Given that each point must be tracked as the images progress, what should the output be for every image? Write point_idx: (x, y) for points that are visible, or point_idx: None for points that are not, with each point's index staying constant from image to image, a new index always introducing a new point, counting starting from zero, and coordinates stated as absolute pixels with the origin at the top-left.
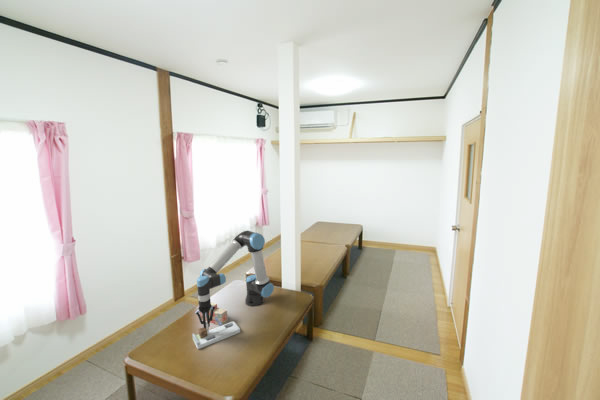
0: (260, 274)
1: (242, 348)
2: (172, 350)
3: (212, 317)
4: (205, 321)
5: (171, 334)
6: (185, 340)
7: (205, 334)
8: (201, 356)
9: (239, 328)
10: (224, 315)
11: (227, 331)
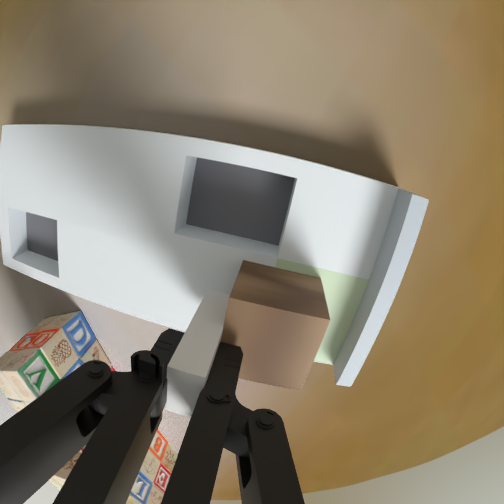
0: None
1: None
2: (483, 335)
3: (52, 389)
4: (195, 418)
5: (373, 458)
6: (376, 375)
7: (262, 277)
8: (420, 71)
9: (2, 133)
10: (19, 351)
11: (65, 164)
